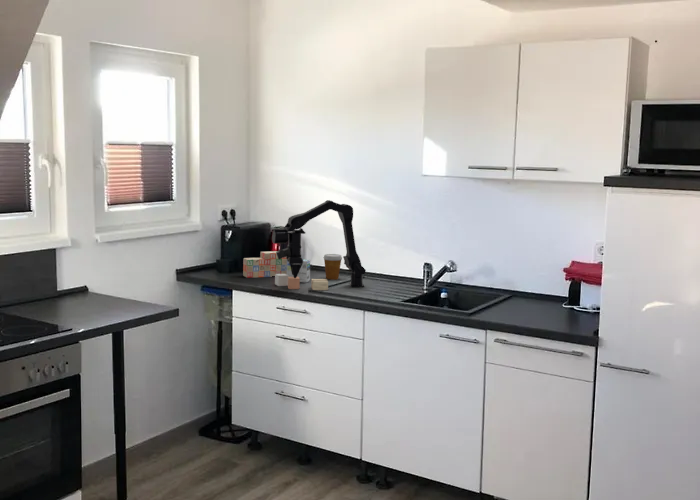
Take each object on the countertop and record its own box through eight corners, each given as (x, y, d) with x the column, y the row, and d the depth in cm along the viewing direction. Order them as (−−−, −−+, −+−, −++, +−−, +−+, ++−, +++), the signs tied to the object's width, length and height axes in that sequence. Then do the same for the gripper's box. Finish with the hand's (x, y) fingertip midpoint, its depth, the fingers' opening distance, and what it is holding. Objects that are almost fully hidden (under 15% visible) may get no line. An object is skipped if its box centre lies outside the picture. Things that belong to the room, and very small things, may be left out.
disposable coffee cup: (335, 276, 395) (336, 253, 394) (345, 279, 387) (345, 256, 386) (319, 277, 390) (320, 254, 389) (328, 280, 382) (329, 256, 381)
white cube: (274, 284, 368) (275, 274, 367) (284, 284, 370) (284, 273, 369) (278, 286, 363) (278, 275, 363) (288, 285, 365) (288, 275, 365)
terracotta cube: (287, 287, 362) (288, 276, 361) (298, 287, 363) (298, 276, 362) (288, 289, 357) (288, 278, 356) (299, 289, 358) (299, 278, 357)
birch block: (311, 287, 363) (311, 279, 362) (325, 287, 364) (326, 279, 363) (313, 290, 356) (313, 281, 355) (327, 290, 357) (328, 281, 356)
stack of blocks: (246, 278, 383) (247, 253, 382) (242, 276, 389) (243, 252, 387) (286, 276, 393) (287, 252, 391) (282, 274, 398) (283, 250, 397)
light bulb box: (310, 280, 381) (310, 259, 380) (307, 282, 375) (307, 261, 373) (289, 279, 383) (289, 258, 382) (285, 281, 377) (286, 259, 375)
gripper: (275, 240, 365) (275, 273, 367) (278, 245, 346) (278, 279, 348) (299, 240, 367) (298, 273, 369) (303, 245, 348) (302, 279, 350)
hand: (294, 276), depth 359 cm, fingers open, 9 cm apart
